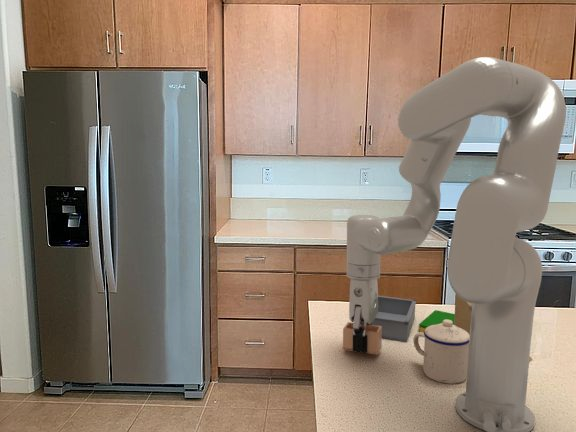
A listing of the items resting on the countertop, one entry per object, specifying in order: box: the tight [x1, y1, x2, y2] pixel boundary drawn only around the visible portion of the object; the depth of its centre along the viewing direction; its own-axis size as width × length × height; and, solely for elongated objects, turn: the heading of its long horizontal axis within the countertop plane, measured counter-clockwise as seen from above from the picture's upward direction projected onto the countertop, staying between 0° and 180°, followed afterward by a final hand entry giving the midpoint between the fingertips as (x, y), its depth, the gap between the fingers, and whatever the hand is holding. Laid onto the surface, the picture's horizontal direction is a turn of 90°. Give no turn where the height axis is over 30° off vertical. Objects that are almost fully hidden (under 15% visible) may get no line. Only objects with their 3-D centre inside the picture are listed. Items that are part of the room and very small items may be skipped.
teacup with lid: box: [413, 319, 470, 385], centre depth 93 cm, size 12×9×12 cm
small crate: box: [342, 321, 383, 356], centre depth 102 cm, size 4×8×5 cm, turn 68°
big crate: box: [372, 295, 417, 343], centre depth 119 cm, size 18×12×5 cm
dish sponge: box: [418, 309, 455, 333], centre depth 119 cm, size 7×14×2 cm, turn 144°
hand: (362, 346), depth 102 cm, fingers closed on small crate, 4 cm apart
